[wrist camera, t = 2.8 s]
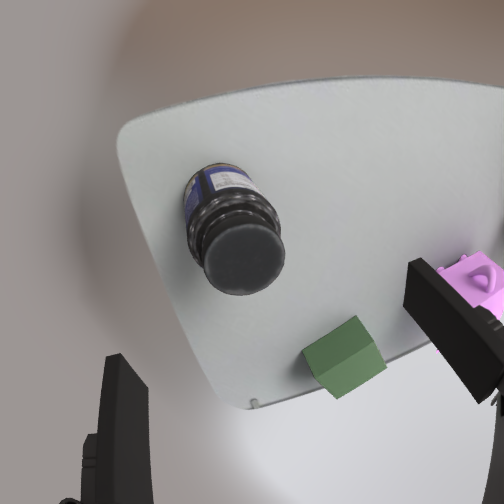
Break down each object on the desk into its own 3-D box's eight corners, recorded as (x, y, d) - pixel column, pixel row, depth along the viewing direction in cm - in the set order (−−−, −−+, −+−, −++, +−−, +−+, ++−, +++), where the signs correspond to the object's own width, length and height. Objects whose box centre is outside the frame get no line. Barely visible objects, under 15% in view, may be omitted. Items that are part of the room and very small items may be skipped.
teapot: (463, 220, 35) (518, 262, 26) (487, 258, 41) (529, 294, 32) (397, 305, 40) (440, 359, 31) (433, 326, 46) (468, 369, 37)
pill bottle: (212, 240, 29) (233, 322, 19) (168, 192, 25) (165, 260, 16) (267, 199, 28) (315, 265, 18) (227, 146, 25) (259, 188, 15)
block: (324, 374, 44) (336, 399, 40) (301, 350, 39) (314, 378, 35) (371, 344, 43) (387, 367, 39) (356, 315, 38) (374, 341, 34)
